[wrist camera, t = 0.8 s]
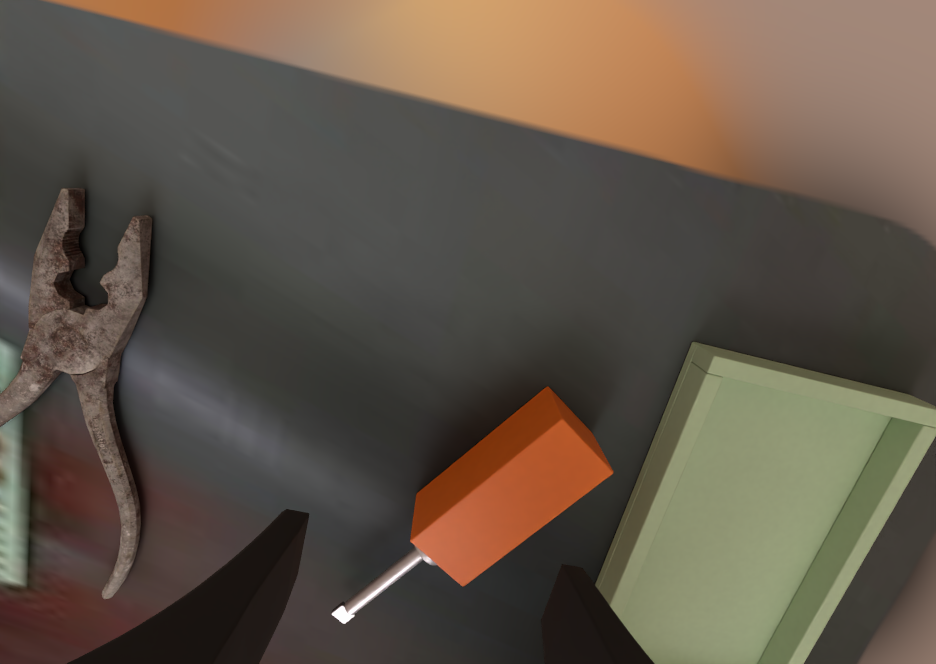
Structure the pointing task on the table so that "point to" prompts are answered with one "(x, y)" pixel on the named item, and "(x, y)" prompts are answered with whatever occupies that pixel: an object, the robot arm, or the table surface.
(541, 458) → the screwdriver
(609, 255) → the table surface
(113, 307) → the pliers
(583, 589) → the robot arm
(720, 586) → the tray
